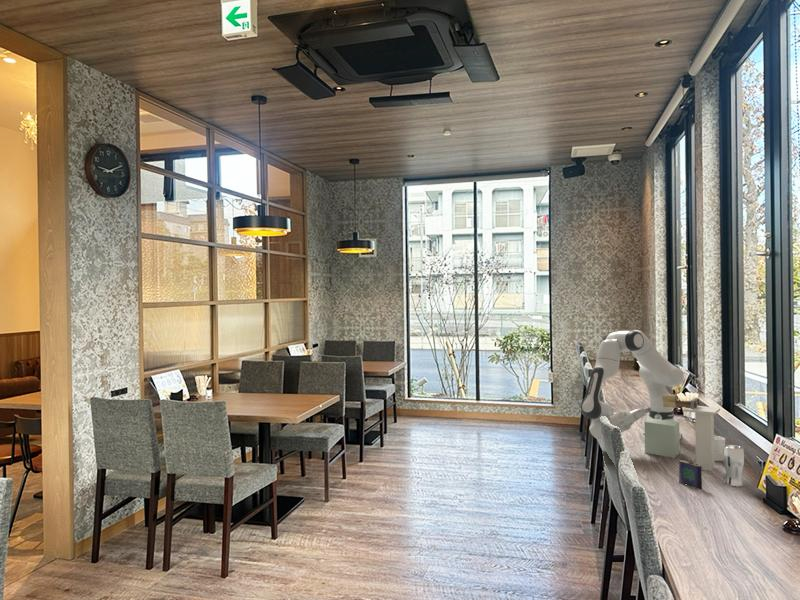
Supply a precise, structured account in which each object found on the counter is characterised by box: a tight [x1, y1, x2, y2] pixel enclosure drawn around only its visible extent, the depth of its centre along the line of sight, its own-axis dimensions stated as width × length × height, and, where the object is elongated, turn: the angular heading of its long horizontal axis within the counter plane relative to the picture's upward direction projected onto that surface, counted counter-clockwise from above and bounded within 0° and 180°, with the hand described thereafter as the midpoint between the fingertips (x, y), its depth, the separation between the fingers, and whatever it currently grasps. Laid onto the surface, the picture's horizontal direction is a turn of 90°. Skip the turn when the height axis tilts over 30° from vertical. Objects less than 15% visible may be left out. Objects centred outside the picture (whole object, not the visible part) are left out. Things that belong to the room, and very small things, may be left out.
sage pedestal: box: [644, 418, 681, 459], centre depth 253 cm, size 10×13×15 cm
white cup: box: [714, 435, 726, 462], centre depth 243 cm, size 8×8×10 cm
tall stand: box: [683, 397, 721, 472], centre depth 231 cm, size 12×12×30 cm
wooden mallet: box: [662, 393, 698, 408], centre depth 236 cm, size 5×13×5 cm, turn 50°
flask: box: [678, 458, 703, 490], centre depth 209 cm, size 9×3×11 cm, turn 26°
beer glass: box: [723, 444, 745, 488], centre depth 209 cm, size 7×7×15 cm
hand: (648, 410), depth 245 cm, fingers open, 8 cm apart
